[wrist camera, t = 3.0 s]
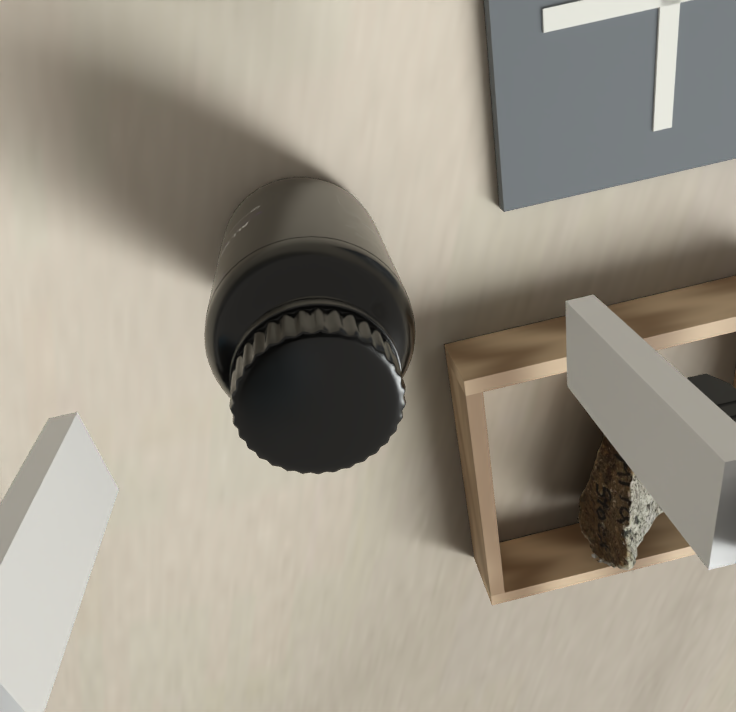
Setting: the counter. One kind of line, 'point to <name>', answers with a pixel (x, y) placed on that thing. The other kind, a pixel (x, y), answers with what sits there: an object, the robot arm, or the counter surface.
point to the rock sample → (615, 509)
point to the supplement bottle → (309, 327)
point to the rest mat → (607, 92)
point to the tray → (542, 359)
